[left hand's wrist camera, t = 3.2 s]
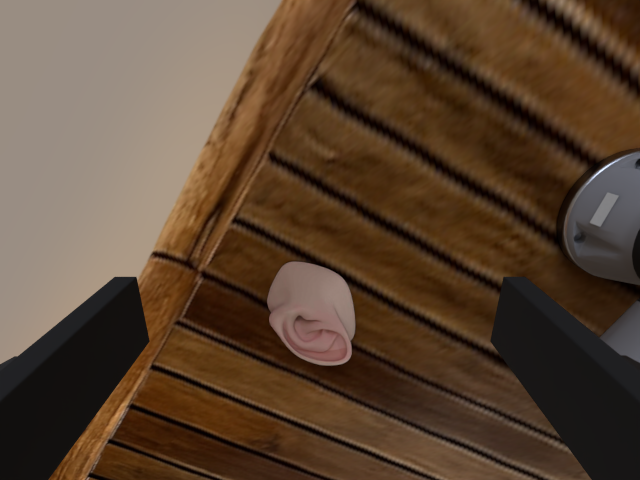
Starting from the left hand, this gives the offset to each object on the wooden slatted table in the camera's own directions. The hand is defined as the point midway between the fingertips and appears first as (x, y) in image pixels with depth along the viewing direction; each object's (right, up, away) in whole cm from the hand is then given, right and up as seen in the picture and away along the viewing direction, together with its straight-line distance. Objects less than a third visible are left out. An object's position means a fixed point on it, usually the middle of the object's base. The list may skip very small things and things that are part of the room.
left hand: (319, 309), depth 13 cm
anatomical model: (-1, -6, +33) cm, 34 cm away
